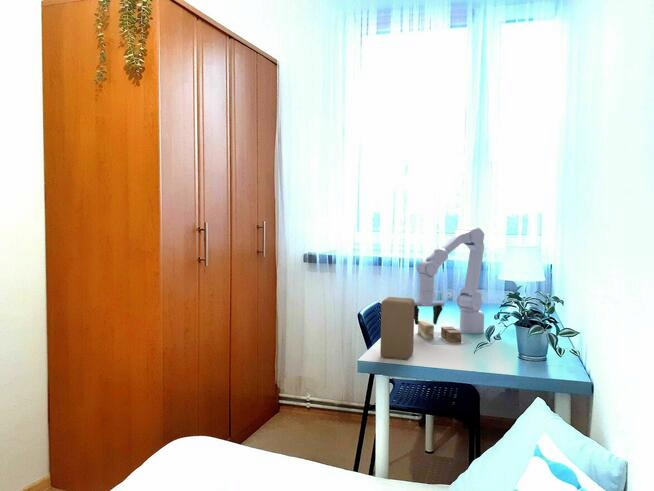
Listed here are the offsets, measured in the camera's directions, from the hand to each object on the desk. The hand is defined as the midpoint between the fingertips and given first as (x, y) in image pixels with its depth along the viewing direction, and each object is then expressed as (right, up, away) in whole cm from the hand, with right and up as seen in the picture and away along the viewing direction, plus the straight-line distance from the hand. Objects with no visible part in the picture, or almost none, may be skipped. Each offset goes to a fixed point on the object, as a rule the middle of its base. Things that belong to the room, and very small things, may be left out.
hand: (425, 324), depth 229 cm
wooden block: (-15, -7, -30) cm, 35 cm away
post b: (+9, -5, -9) cm, 14 cm away
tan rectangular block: (0, -5, 0) cm, 5 cm away
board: (+7, -5, -3) cm, 9 cm away
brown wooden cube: (+9, -5, -3) cm, 10 cm away
